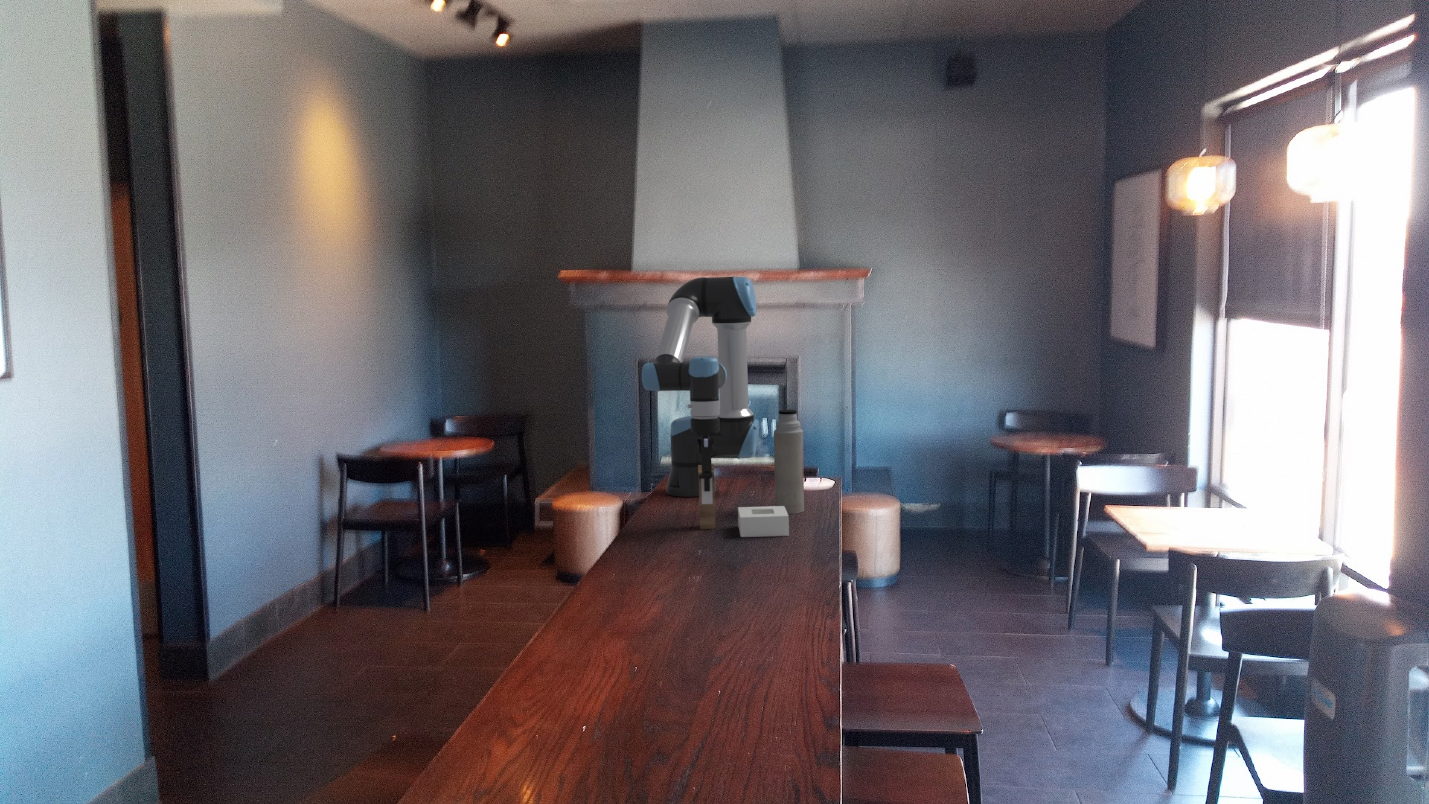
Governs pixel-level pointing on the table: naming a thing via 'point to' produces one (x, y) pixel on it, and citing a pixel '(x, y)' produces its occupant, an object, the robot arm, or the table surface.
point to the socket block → (763, 521)
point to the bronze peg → (706, 505)
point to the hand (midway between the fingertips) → (706, 498)
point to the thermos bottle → (789, 462)
